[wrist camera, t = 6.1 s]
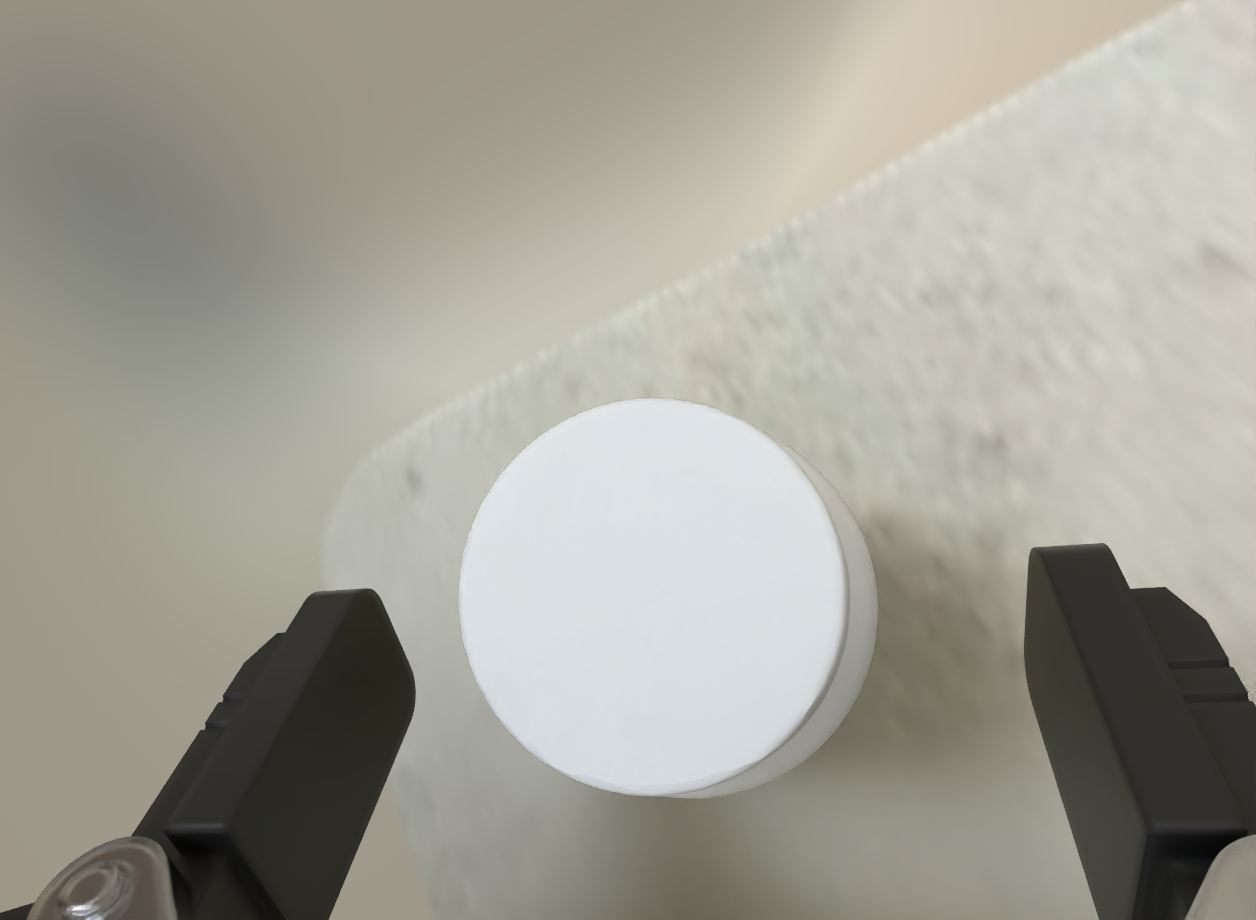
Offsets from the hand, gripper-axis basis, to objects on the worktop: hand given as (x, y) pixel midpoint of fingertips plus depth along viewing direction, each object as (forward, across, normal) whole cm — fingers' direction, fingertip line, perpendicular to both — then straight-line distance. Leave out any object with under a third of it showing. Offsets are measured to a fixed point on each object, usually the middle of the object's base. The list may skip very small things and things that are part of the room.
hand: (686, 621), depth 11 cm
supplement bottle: (+5, 0, +4) cm, 6 cm away
